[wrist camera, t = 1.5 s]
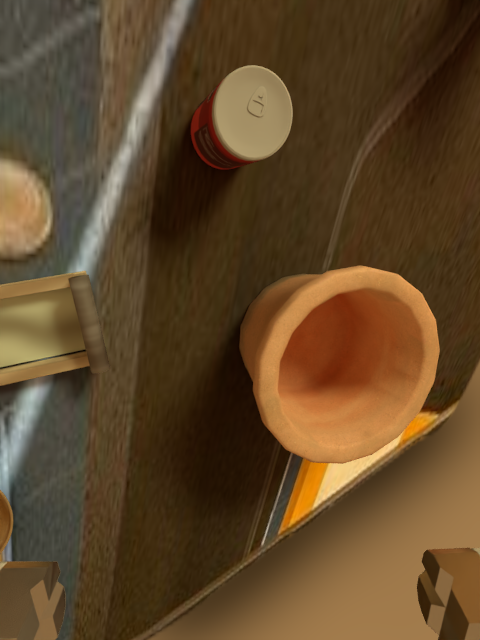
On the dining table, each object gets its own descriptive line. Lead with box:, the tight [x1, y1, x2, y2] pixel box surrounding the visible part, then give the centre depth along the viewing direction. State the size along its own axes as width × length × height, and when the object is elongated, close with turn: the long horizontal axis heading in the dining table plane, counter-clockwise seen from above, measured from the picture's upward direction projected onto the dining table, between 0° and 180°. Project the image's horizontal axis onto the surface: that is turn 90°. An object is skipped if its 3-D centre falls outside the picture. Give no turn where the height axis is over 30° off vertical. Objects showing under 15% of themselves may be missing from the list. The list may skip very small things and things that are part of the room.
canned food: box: [191, 65, 293, 170], centre depth 43 cm, size 8×8×11 cm
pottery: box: [239, 266, 440, 464], centre depth 51 cm, size 22×22×14 cm
